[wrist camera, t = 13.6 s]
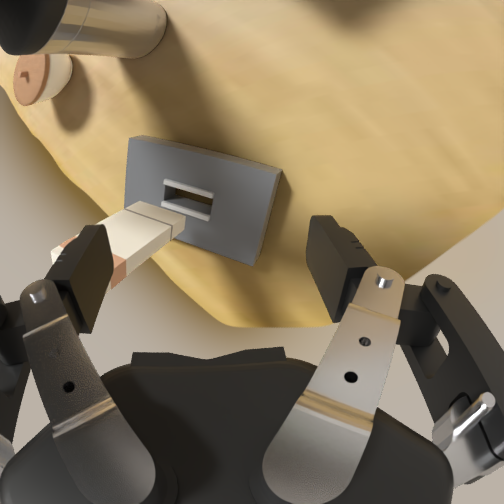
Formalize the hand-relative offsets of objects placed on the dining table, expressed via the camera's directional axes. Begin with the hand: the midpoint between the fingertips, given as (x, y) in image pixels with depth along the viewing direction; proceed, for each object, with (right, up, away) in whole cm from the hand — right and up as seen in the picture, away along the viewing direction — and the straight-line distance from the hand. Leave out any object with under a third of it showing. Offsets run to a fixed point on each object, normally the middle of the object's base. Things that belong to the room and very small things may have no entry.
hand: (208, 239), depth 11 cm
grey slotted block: (-5, +7, +28) cm, 29 cm away
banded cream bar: (-8, +4, +21) cm, 23 cm away
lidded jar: (-31, +30, +25) cm, 50 cm away
